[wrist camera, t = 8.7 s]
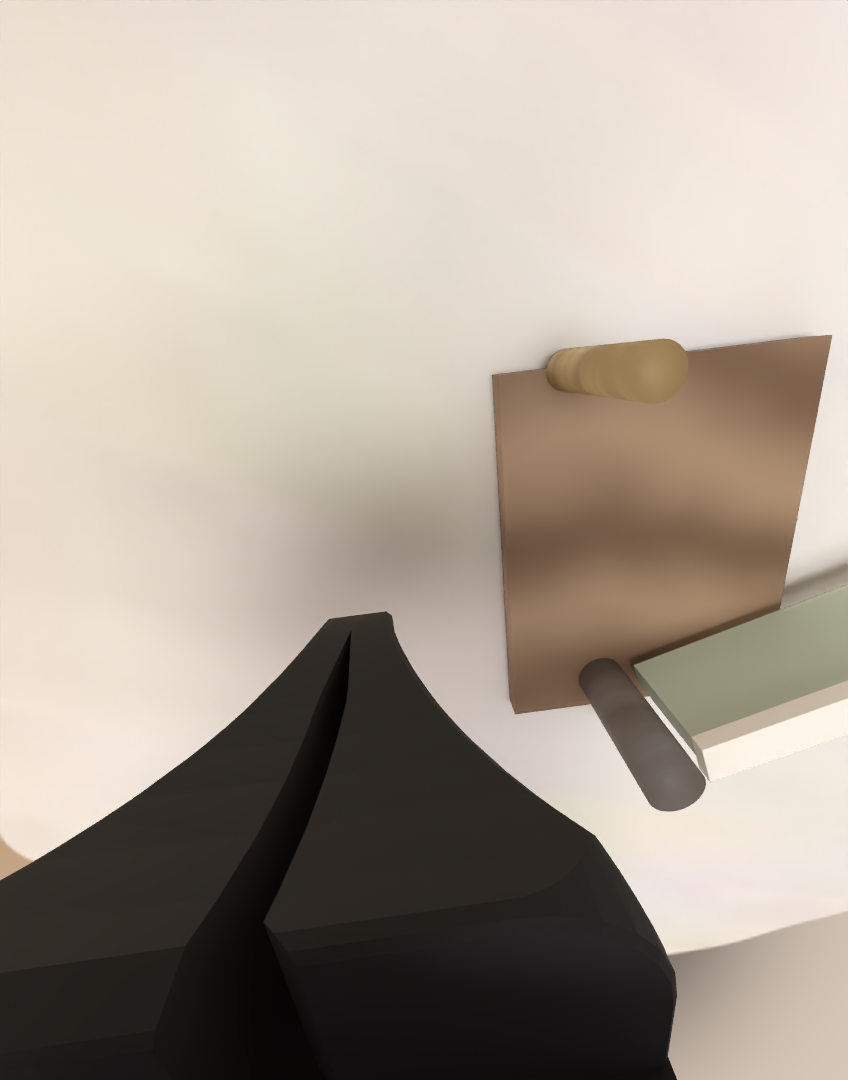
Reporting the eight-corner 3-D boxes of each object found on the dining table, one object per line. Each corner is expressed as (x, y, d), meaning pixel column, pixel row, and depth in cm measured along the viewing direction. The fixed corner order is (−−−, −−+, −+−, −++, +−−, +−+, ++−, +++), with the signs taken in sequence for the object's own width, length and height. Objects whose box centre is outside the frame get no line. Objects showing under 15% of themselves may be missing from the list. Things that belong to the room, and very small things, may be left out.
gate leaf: (638, 687, 21) (710, 782, 16) (629, 660, 20) (702, 750, 15) (888, 594, 20) (1042, 665, 15) (887, 563, 19) (1047, 626, 14)
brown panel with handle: (750, 667, 23) (896, 789, 16) (510, 699, 22) (559, 837, 16) (811, 318, 17) (1074, 288, 10) (491, 357, 17) (555, 351, 10)
